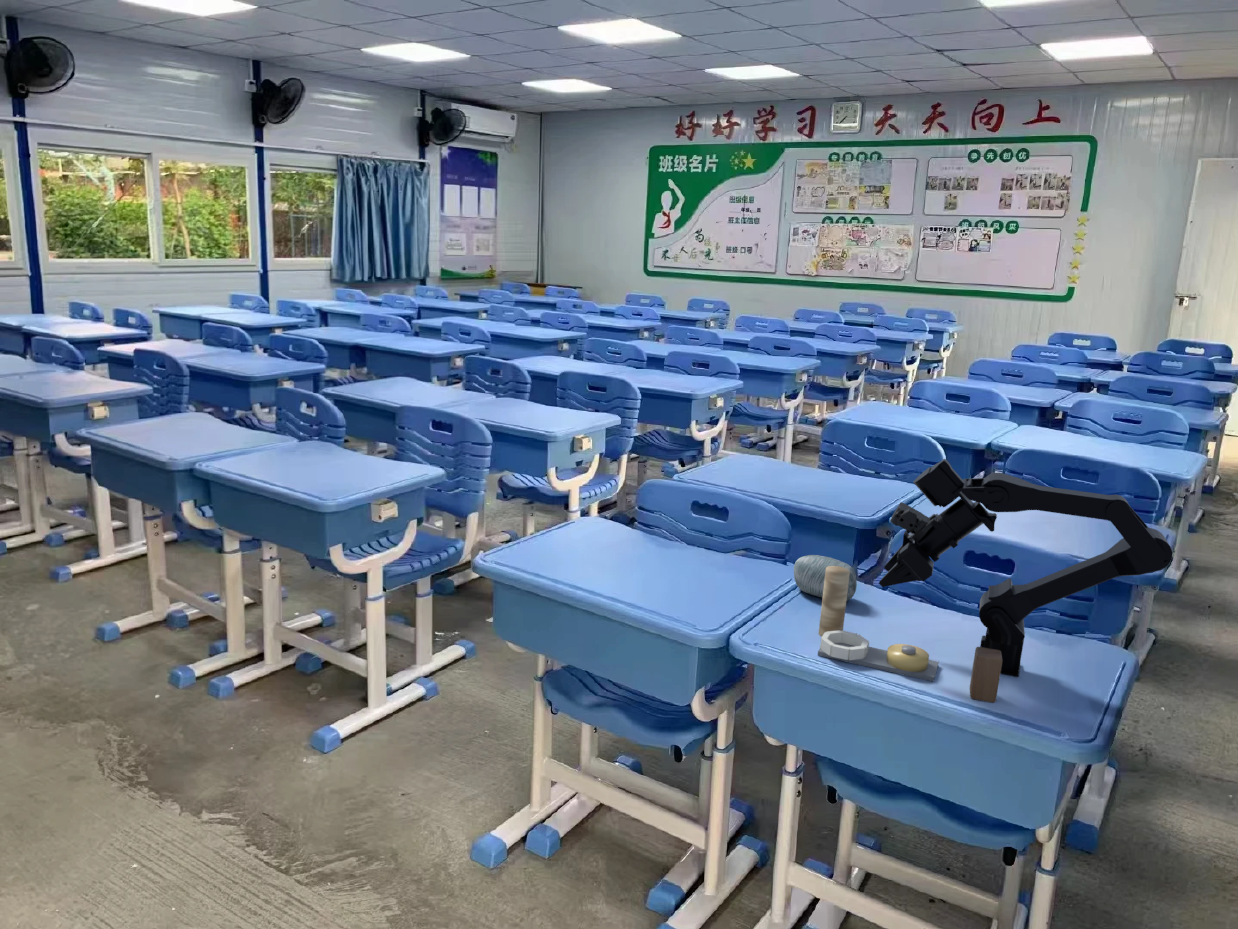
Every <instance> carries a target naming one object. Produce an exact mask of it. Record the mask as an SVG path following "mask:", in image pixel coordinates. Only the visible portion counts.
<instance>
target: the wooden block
mask: <svg viewBox="0 0 1238 929" xmlns="http://www.w3.org/2000/svg"><path fill="white" fill-rule="evenodd" d="M1001 667H1002V655H1001V651H1000V650H995V649H989V648H983V647H980V646H976V647H975V651H974V657H973V663H972V670H971V676H970V682H969V696H970V699H972V700H977V701H981V702H987V703H991V704H995V703H996V702H997V697H998V691H999V684H1000V679H1001V678H1000V677H1001Z"/></svg>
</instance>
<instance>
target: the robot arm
mask: <svg viewBox="0 0 1238 929" xmlns="http://www.w3.org/2000/svg"><path fill="white" fill-rule="evenodd" d="M912 483H913V484H914V485H915V487H917V488H918V489H919V491H920V492H921V493H922V494H923V495H924V496H925V498H926V499H927V500H928V501H929V502H930V504H932V505H933V506H934V507H937V506H938V507H939V508H941V507H942V508H946V507H947V508H946V509H944V510H943V511H942V512H941V513H939V514H938V513H936V514H935V513H933V514H932V515H931V516H929V517H928V516H927V515H926V514H923V512H921V511H919V510H917V509H915V508H914V507H912V506H910V505H909V504H906V503H905V502H901V501H900V502H899V504H898V506H897V507H896V509H895V510H894V512H893V514H892V515H891V518H890V523H891V524H892V525H894V526H896V527H899V528H902V529H903V530H905V531H904V533H903V534H902V535H903V537H902V544H901V545H900V547H899V548H898V549H897V550H896V552H895V553H894V554H893V555H892V556H891V558H889V560H888V561H887V562H886V564H884V567H883V568H884V570H886V573H885V575H884V576H883V577H882V578H881V579H880V580H879V581H878V584H879V585H880V586H881V587H882V588H885V587H890V586H895V585H899V584H905V583H911V582H921V581H922V582H925V581H926V580H928V579H929V578H931V577H932V576H933V573H934V572H933V571H934V564H935V562H937V561H938V560H939V559H940V556H941V555H942V554H944V553H945V552H947V551H948V550H949V549H951V548H952V549H955V548H956V547H958V546H959V542H960V541H962V540H963V539H964V538H966V537H967V536H968V535H969V534H972V533H973V532H974V531H975V530H977V529H978V528H979V527H981V526H982V525H984V526H985V527H986V528H987V529H988V530H989V531H990V532H991V533H992V532H995V524H996V523H995V522H996V521H997V518H998V516H997V515H998V514H997V513H1018V512H1025V511H1040V512H1048V513H1054V514H1062V515H1068V516H1075V517H1080V518H1081V517H1083V518H1088V519H1089V518H1091V519H1094V520H1095V519H1096V520H1102V521H1109V522H1111V524H1112V525H1113V526H1114V527H1115V529H1116V530H1117V531H1118V533H1119V534H1120V535H1121V537H1122V538H1121V539H1120V540H1119V541H1118V542H1116V543H1115V544H1113V546H1111V547H1110V548H1109V549H1108V550H1106V551H1104V552H1103V553H1101V554H1098V555H1096V556H1092V557H1090V558H1088V559H1085V560H1083V561H1080V562H1078V563H1075V564H1073V565H1070V566H1068V567H1065V568H1063V569H1060V570H1058V571H1056V572H1053V573H1051V574H1048V575H1045V576H1043V577H1041V578H1038V579H1036V580H1033V581H1030V582H1029V583H1025V584H1013V581H1012V578H1007V579H1005V580H1003V581H1002V582H999V583H998V584H995V585H988V590H987V591H985V592H984V593H983V594H982V595H981V597H980V600H979V608H978V611H979V612H978V616H979V620H980V623H981V624H982V625H983V626H984V627H986V631H985V635H982V636H981V640H980V645H979V647H983V648H989V649H995V650H1000V651H1001V655H1002V667H1001V673H1000V675H1005V676H1006V675H1007V676H1011V677H1015V678H1016V677H1017V678H1018V677H1020V672H1021V661H1022V660H1021V659H1022V655H1023V648H1024V642H1025V636H1026V635H1025V634H1026V632H1025V621H1024V620H1025V618H1027V617H1028V616H1029V615H1030V614H1031V613H1032V612H1034V611H1035V610H1037V609H1039V608H1041V607H1043V606H1046V605H1048V604H1051V603H1054V602H1056V601H1058V600H1061V599H1064V598H1066V597H1070V596H1072V595H1074V594H1076V593H1079V592H1082V591H1085V590H1087V589H1090V588H1092V587H1094V586H1098V585H1101V584H1103V583H1105V582H1108V581H1111V580H1112V579H1115V578H1120V577H1129V576H1130V577H1131V576H1141V575H1147V574H1150V573H1151V574H1152V573H1156V572H1159V571H1163V570H1164V569H1166V568H1167V567H1169V565H1170V564H1171V561H1172V559H1173V550H1172V547H1171V545H1170V543H1169V542H1168V539H1167V538H1166V537H1165V536H1164V534H1163V532H1161V531H1159V530H1157V529H1155V528H1152V527H1148V525H1147V524H1146V522H1145V521H1144V520H1143V519H1142V518H1141V517H1140V515H1138V513H1137V512H1136V511H1135V510H1134V509H1133V508H1132V506H1130V504H1129V501H1128V500H1127V499H1126V498H1125V497H1124V496H1123V495H1119V494H1103V493H1095V492H1088V491H1081V490H1075V489H1066V488H1058V487H1052V486H1051V487H1050V486H1044V485H1039V484H1035V483H1032V482H1031V481H1030V482H1029V481H1027V480H1024V479H1023V478H1020V477H1016V476H1012V475H1010V474H1006V473H1002V472H992V473H990V474H988V475H987V476H985V477H981V478H979V477H978V478H977V477H975V478H962V477H961V476H960V475H959V473H957V471H956V470H955V469H953V467H952V465H951V463H950V462H949V461H948V459H946V458H943V459H942V460H940V461H939V462H937V463H935V464H933V465H932V466H929V467H927V468H926V469H925V470H924V471H923V472H921V474H919V475H918V476H917V477H916V478H915V479H914V480H913V481H912ZM957 498H959V499H958V500H957V501H955V500H956V499H957ZM954 501H955V502H954ZM953 502H954V503H953ZM950 504H951V505H950ZM949 505H950V506H949ZM948 506H949V507H948ZM989 511H991V512H989ZM992 512H993V513H992Z"/></svg>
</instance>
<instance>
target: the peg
mask: <svg viewBox="0 0 1238 929" xmlns="http://www.w3.org/2000/svg"><path fill="white" fill-rule="evenodd" d="M849 575H850V570H848V569H847V568H844V567H840V566H828V567H826V571H825V580H824V589H823V598H821V599H822V600H821V608H820V609H821V610H820V617H819V618H820V619H819V627H818V635H819V637H820V638H821V637H822V636H823V634H824V633H825V632H827V631H837V630H840V631H842V630H843V631H844V625H845V624H844V623H845V617H846V608H847V602H848V601H847V592H848V584H849Z"/></svg>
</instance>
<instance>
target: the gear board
mask: <svg viewBox="0 0 1238 929" xmlns="http://www.w3.org/2000/svg"><path fill="white" fill-rule="evenodd" d="M817 656H819V657H822V658H823V657H824V658H828V659H833V660H837V661H842V662H846V663H850V664H854V665H859V666H864V667H867V668H870V669H871V668H872V669H876V670H881V671H885V672H890V673H894V674H898V675H903V676H907V677H911V676H912V678H916V679H920V680H924V681H930V682H934V681H935V677H936V674H937V671H938V667H939V663H940V662H939V661H937V660H932V659H930V654H929V653H928V651H927V650H925V649H923V648H921V647H919V646H916V645H912V644H906V643H896V644H895V643H894V644H892V645H889V646H888V648H887V650H886V649H882V648H877V647H872V646H870V641H869V640H868V639H867V638H865V637H863V636H862V635H861V634H858V633H857V632H856V633H855V632H851V631H846V630H844V629H843V630H842V631H840V630H837V631H827V632H825V633H824V634H823V636H822V637H821V636H820V644H819V649H818V650H817Z"/></svg>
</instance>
